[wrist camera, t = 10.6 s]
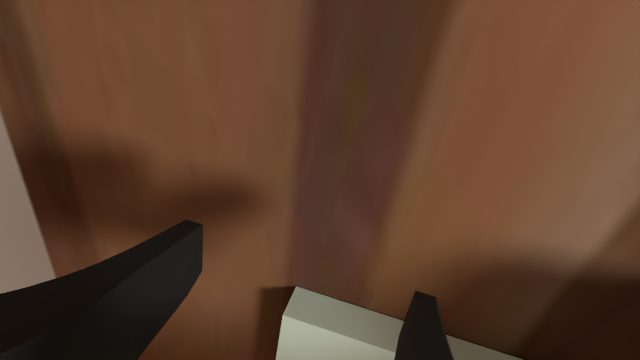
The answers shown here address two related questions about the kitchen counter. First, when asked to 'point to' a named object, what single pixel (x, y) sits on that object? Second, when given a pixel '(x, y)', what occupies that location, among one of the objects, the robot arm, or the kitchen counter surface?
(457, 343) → the socket board
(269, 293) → the kitchen counter surface
